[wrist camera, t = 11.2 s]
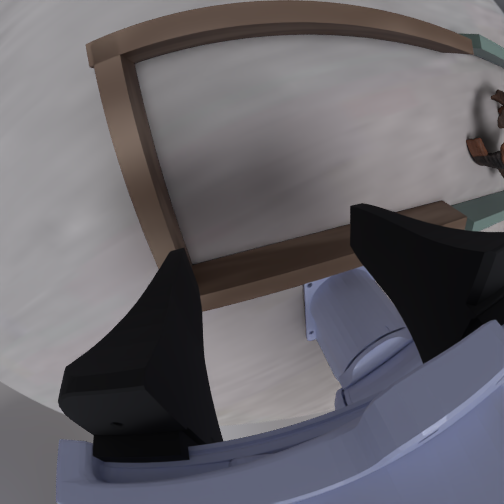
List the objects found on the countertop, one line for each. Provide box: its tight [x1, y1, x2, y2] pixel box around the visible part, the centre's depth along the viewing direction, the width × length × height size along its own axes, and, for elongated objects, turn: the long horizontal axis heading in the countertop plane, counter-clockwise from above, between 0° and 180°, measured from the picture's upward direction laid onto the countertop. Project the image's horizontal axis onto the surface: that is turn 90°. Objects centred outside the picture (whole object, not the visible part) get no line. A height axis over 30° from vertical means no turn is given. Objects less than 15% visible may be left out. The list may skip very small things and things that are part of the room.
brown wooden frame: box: [86, 0, 474, 312], centre depth 17 cm, size 19×28×4 cm
